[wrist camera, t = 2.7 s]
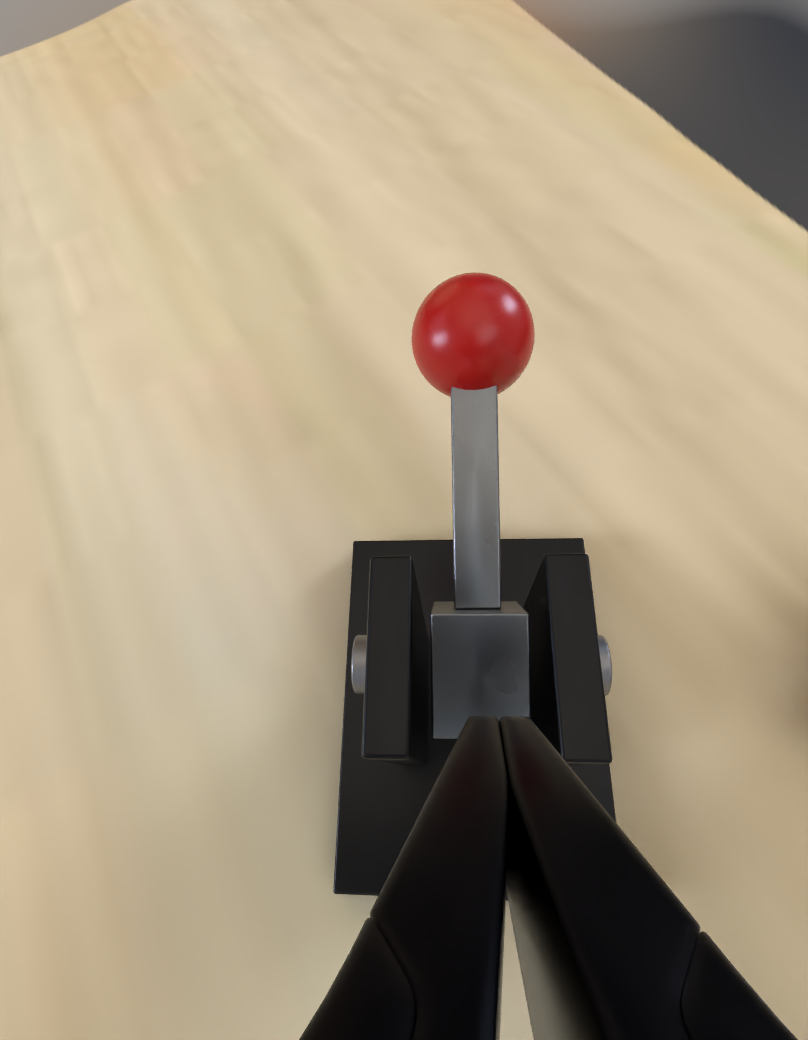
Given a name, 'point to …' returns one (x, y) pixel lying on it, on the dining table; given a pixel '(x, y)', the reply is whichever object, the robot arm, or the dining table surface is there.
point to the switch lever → (475, 498)
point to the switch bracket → (407, 686)
